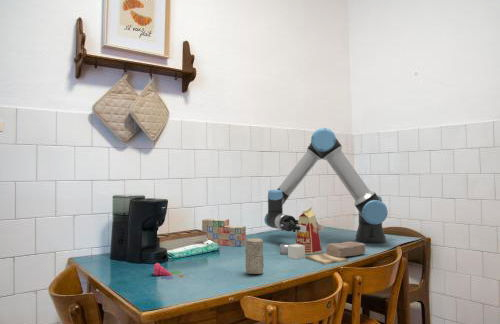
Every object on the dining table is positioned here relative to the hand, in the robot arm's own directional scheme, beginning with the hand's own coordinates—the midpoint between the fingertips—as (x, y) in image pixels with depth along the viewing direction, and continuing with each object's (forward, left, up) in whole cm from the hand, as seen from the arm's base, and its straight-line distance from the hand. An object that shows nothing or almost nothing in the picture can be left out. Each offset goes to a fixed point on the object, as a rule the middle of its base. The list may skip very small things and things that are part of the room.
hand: (314, 228), depth 164 cm
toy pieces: (+65, +4, -12) cm, 66 cm away
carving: (+38, +15, -11) cm, 43 cm away
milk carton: (0, -5, -11) cm, 12 cm away
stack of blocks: (+25, -40, -11) cm, 49 cm away
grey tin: (+11, -7, -11) cm, 17 cm away
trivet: (+2, +10, -11) cm, 15 cm away
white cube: (+11, +1, -11) cm, 15 cm away
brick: (-10, +9, -11) cm, 17 cm away
